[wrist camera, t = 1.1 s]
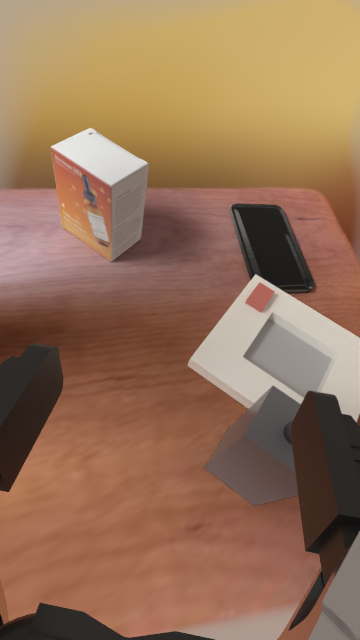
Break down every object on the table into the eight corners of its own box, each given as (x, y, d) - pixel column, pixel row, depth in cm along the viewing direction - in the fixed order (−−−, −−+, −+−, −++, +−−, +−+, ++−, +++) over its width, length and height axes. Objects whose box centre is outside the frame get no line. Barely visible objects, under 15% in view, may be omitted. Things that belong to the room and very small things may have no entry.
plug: (204, 467, 30) (255, 426, 19) (226, 430, 32) (285, 372, 21) (253, 506, 29) (339, 485, 18) (274, 464, 31) (361, 423, 20)
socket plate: (187, 365, 34) (191, 354, 32) (251, 282, 42) (257, 269, 40) (331, 467, 31) (346, 462, 29) (373, 358, 39) (387, 348, 37)
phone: (257, 290, 40) (229, 203, 48) (254, 296, 41) (227, 209, 49) (317, 289, 42) (282, 204, 49) (313, 294, 43) (278, 211, 50)
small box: (61, 228, 42) (47, 145, 33) (94, 207, 44) (89, 125, 36) (111, 264, 40) (110, 186, 31) (142, 239, 43) (150, 162, 34)
